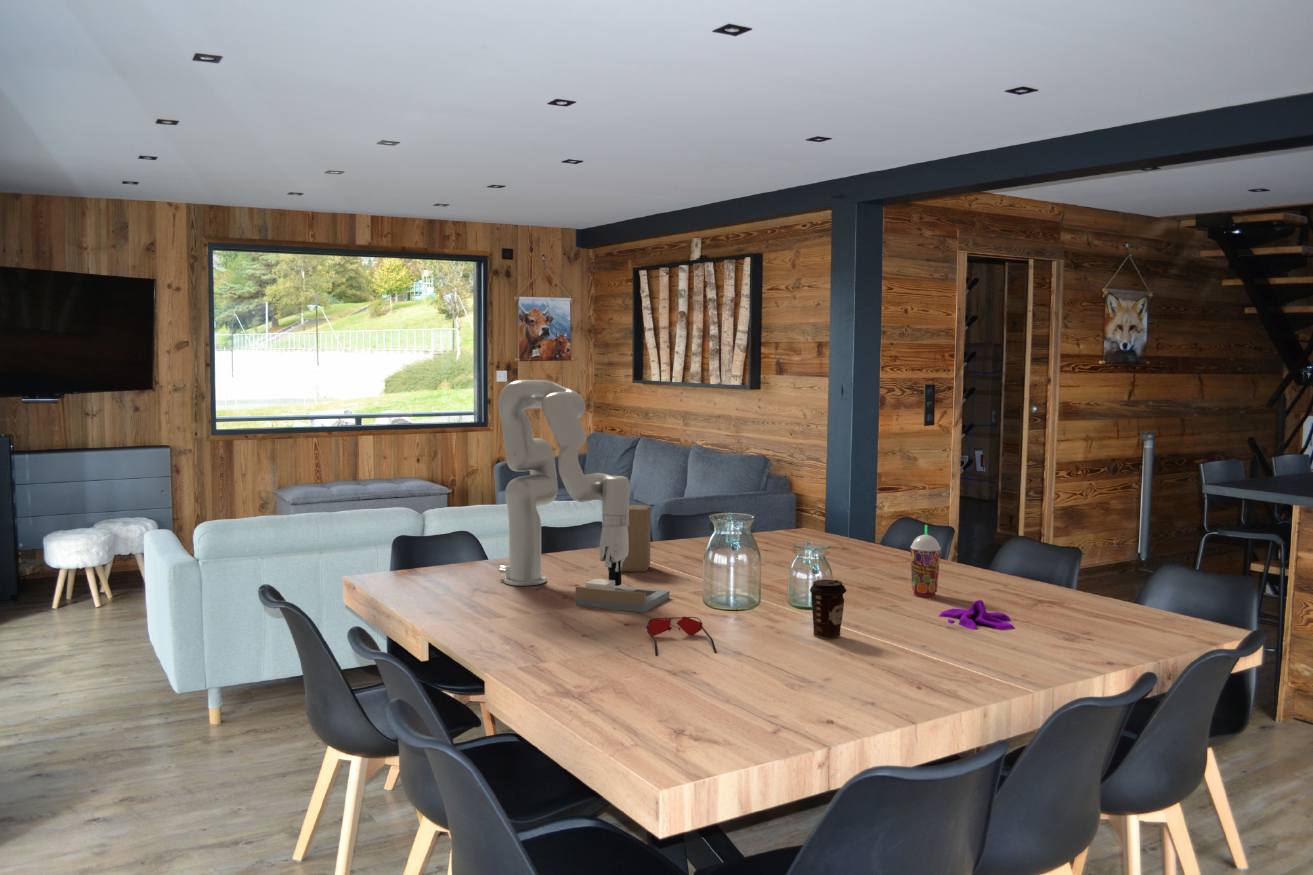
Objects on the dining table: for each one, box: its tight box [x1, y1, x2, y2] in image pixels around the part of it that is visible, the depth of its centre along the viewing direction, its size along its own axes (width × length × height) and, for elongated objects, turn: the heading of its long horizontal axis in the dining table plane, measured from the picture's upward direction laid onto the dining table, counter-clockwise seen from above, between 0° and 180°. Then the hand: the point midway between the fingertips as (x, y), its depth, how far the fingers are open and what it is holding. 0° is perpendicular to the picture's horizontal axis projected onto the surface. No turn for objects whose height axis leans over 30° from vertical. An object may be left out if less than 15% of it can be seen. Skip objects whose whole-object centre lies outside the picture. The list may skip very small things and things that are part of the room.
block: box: [621, 504, 651, 573], centre depth 312 cm, size 10×10×20 cm
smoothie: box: [909, 524, 942, 598], centre depth 278 cm, size 8×8×20 cm
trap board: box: [575, 585, 670, 613], centre depth 269 cm, size 20×18×5 cm
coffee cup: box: [809, 579, 847, 640], centre depth 235 cm, size 9×8×13 cm
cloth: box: [938, 599, 1016, 631], centre depth 249 cm, size 22×19×6 cm
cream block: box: [584, 578, 615, 590], centre depth 266 cm, size 6×6×4 cm
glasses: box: [645, 616, 718, 657], centre depth 227 cm, size 14×16×5 cm
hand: (614, 584), depth 276 cm, fingers closed
